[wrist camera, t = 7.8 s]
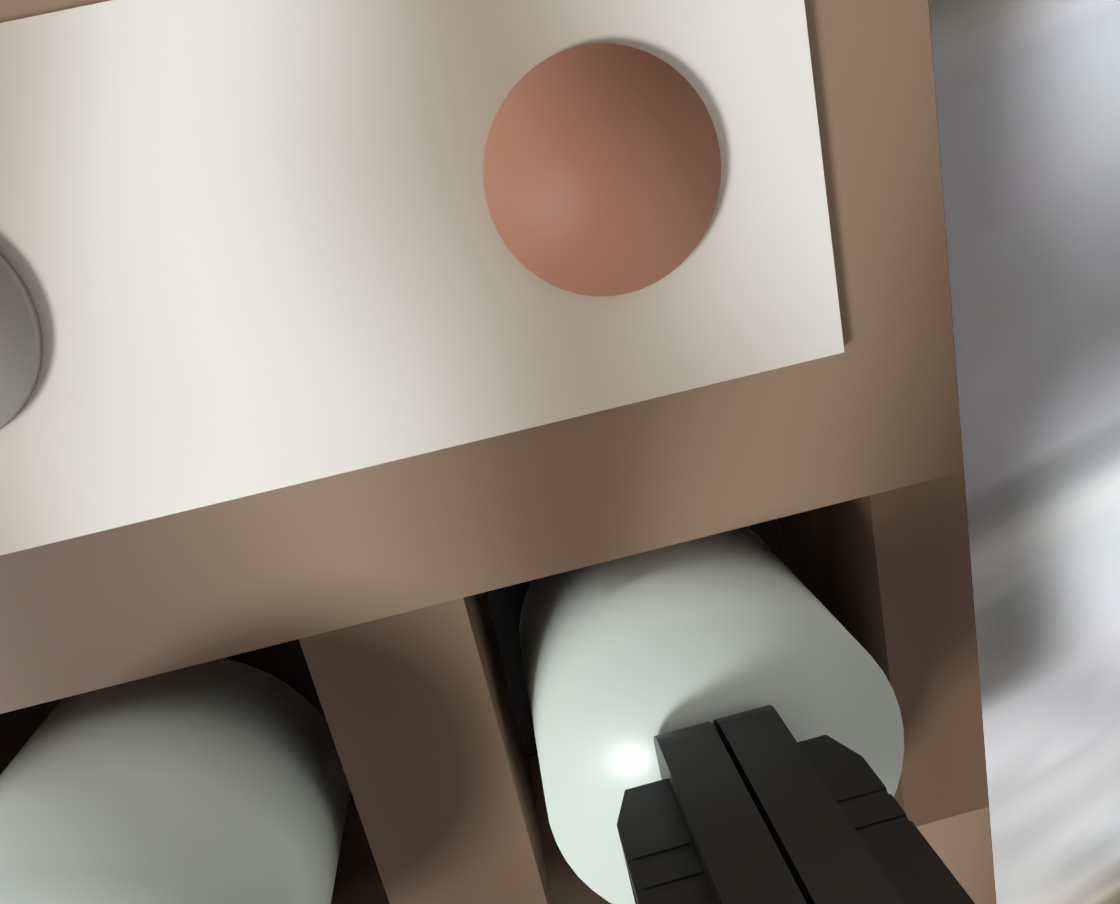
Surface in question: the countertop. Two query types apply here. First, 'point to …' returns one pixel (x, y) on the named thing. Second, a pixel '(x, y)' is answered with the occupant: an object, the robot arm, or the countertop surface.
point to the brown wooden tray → (471, 368)
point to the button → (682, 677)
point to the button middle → (175, 795)
